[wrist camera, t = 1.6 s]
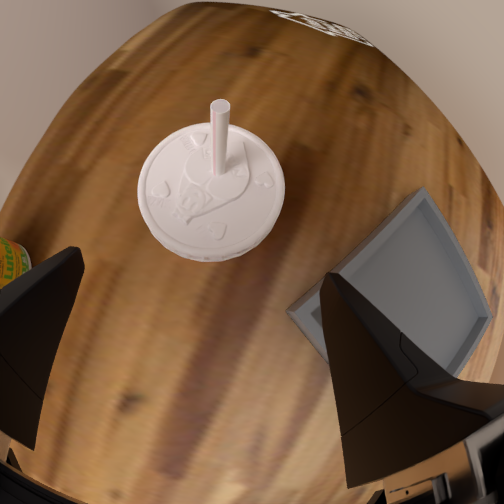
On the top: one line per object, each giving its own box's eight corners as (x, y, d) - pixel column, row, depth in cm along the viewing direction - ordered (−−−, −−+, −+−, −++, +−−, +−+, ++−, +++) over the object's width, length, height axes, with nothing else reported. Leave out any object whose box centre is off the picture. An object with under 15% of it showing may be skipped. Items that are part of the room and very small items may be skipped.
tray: (477, 317, 22) (492, 316, 20) (386, 435, 19) (400, 445, 17) (408, 195, 23) (423, 186, 21) (285, 310, 20) (294, 312, 18)
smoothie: (272, 226, 21) (354, 113, 7) (223, 295, 20) (235, 287, 6) (205, 180, 21) (196, 32, 7) (154, 245, 20) (59, 152, 6)
